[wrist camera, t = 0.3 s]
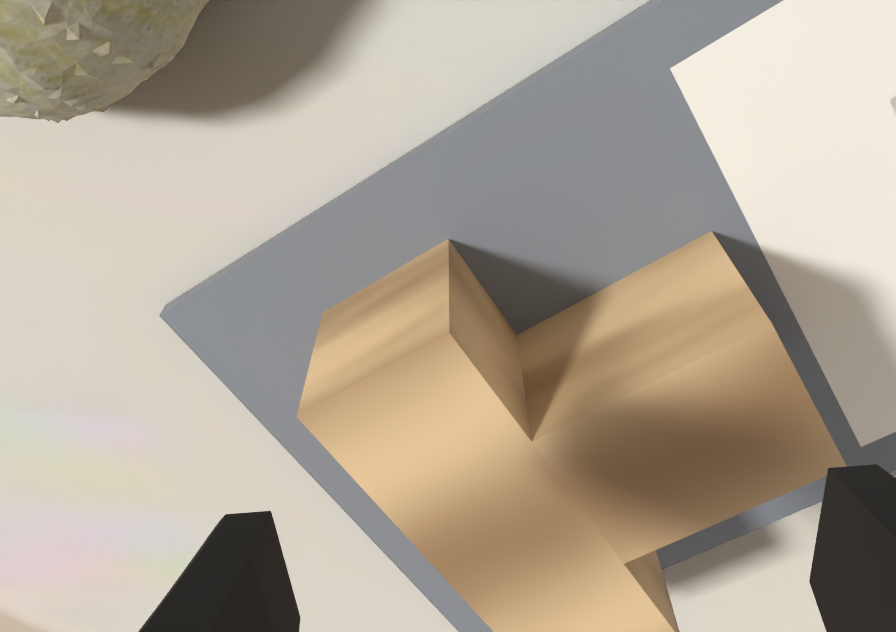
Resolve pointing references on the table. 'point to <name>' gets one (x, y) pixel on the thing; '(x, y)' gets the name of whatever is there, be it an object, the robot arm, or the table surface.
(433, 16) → the table surface
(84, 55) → the sea urchin shell
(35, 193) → the table surface
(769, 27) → the T board
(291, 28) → the table surface
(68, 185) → the table surface
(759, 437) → the T block
